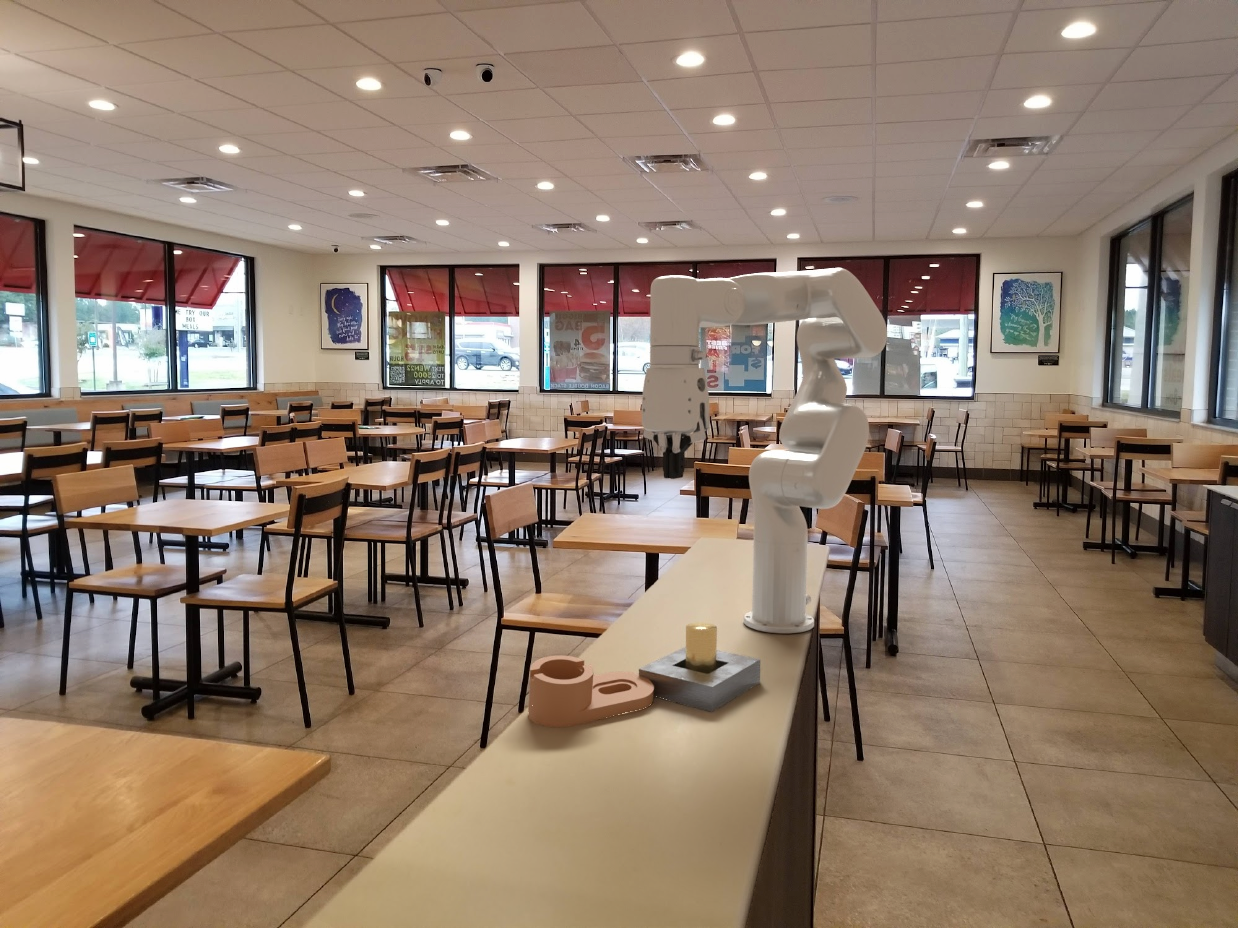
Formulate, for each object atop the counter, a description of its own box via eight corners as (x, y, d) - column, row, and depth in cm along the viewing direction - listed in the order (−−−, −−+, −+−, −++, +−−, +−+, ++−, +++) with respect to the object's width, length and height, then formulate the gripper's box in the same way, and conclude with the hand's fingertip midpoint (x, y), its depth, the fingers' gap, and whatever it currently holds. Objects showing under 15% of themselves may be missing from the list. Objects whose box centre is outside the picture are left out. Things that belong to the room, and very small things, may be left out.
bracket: (544, 738, 111) (546, 688, 109) (518, 708, 118) (520, 661, 116) (663, 711, 120) (667, 664, 118) (633, 685, 127) (636, 640, 125)
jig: (690, 666, 135) (690, 644, 135) (760, 682, 128) (760, 659, 128) (638, 692, 124) (638, 668, 124) (712, 711, 117) (712, 686, 117)
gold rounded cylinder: (695, 680, 129) (696, 620, 128) (721, 686, 127) (722, 626, 126) (679, 688, 126) (680, 627, 125) (706, 695, 123) (706, 633, 122)
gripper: (729, 358, 132) (727, 479, 134) (647, 359, 141) (647, 472, 143) (704, 358, 126) (702, 484, 128) (620, 358, 135) (620, 476, 137)
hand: (673, 477), depth 136 cm, fingers closed
